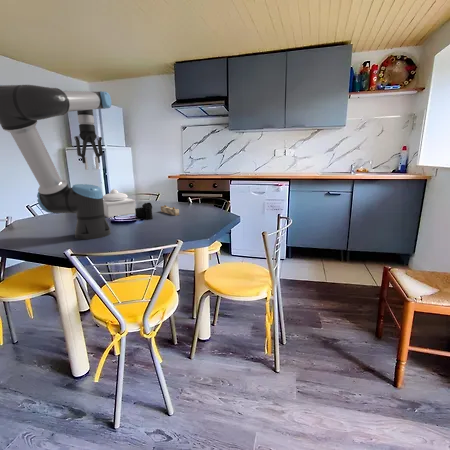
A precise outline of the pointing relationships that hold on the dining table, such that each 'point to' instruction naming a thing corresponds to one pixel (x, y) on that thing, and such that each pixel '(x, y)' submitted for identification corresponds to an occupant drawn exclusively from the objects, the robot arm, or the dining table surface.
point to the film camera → (144, 211)
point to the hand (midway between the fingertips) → (92, 169)
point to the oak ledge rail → (170, 210)
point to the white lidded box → (118, 204)
